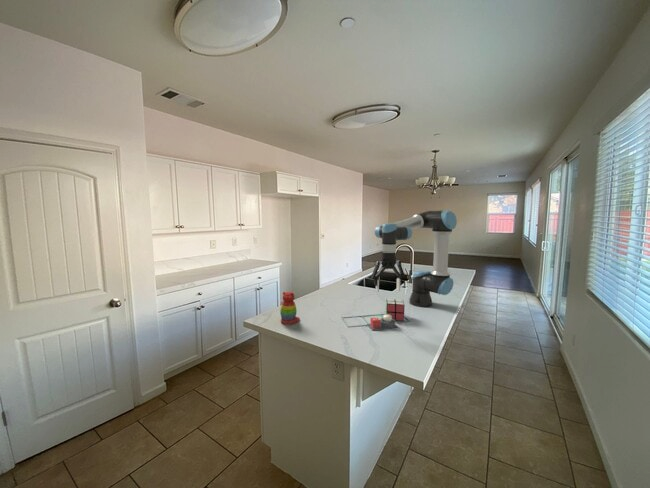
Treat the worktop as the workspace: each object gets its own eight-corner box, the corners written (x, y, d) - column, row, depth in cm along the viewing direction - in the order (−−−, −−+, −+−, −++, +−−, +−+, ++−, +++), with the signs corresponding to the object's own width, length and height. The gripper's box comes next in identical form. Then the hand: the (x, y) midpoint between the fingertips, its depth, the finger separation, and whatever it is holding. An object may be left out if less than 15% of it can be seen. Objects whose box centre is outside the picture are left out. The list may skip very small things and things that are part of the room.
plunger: (389, 318, 151) (389, 314, 151) (393, 322, 147) (393, 317, 146) (382, 319, 150) (382, 314, 150) (385, 322, 146) (385, 317, 145)
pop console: (391, 322, 154) (391, 314, 153) (398, 328, 146) (398, 319, 145) (367, 325, 151) (367, 316, 150) (372, 330, 143) (372, 321, 142)
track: (399, 313, 169) (399, 312, 169) (410, 321, 155) (410, 321, 155) (341, 317, 161) (341, 317, 161) (348, 327, 147) (348, 326, 147)
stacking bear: (300, 319, 159) (300, 290, 157) (293, 326, 149) (293, 295, 147) (284, 317, 162) (284, 288, 160) (276, 323, 153) (275, 293, 151)
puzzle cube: (404, 321, 155) (404, 304, 154) (386, 320, 157) (386, 303, 156) (402, 315, 165) (403, 299, 163) (386, 313, 167) (386, 298, 165)
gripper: (405, 250, 151) (404, 287, 153) (365, 251, 146) (364, 290, 148) (412, 252, 143) (411, 291, 146) (370, 253, 138) (369, 293, 141)
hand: (387, 290), depth 147 cm, fingers open, 12 cm apart
